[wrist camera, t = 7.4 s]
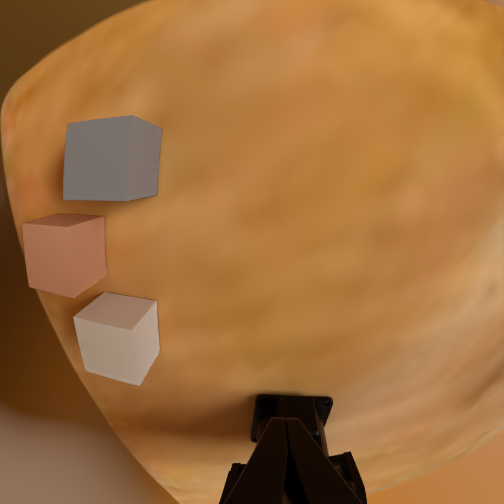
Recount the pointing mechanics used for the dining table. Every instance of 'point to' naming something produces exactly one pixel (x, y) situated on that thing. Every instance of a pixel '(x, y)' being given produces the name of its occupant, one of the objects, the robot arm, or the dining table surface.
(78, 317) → the white cube
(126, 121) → the grey cube
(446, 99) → the dining table surface
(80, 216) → the terracotta cube
